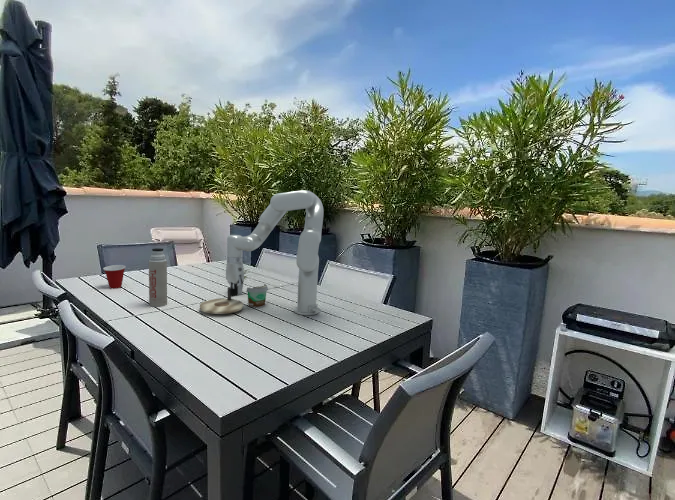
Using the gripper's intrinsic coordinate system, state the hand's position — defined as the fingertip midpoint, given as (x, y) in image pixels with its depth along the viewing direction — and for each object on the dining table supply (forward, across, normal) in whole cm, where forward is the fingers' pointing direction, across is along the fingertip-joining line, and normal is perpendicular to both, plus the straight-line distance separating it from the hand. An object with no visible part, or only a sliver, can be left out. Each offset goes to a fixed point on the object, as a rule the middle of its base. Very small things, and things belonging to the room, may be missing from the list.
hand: (234, 295), depth 182 cm
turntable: (+6, -2, +8) cm, 10 cm away
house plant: (+6, +19, -14) cm, 24 cm away
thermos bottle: (+6, +25, +27) cm, 37 cm away
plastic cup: (+6, +70, +32) cm, 78 cm away
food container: (+6, -6, -11) cm, 14 cm away
